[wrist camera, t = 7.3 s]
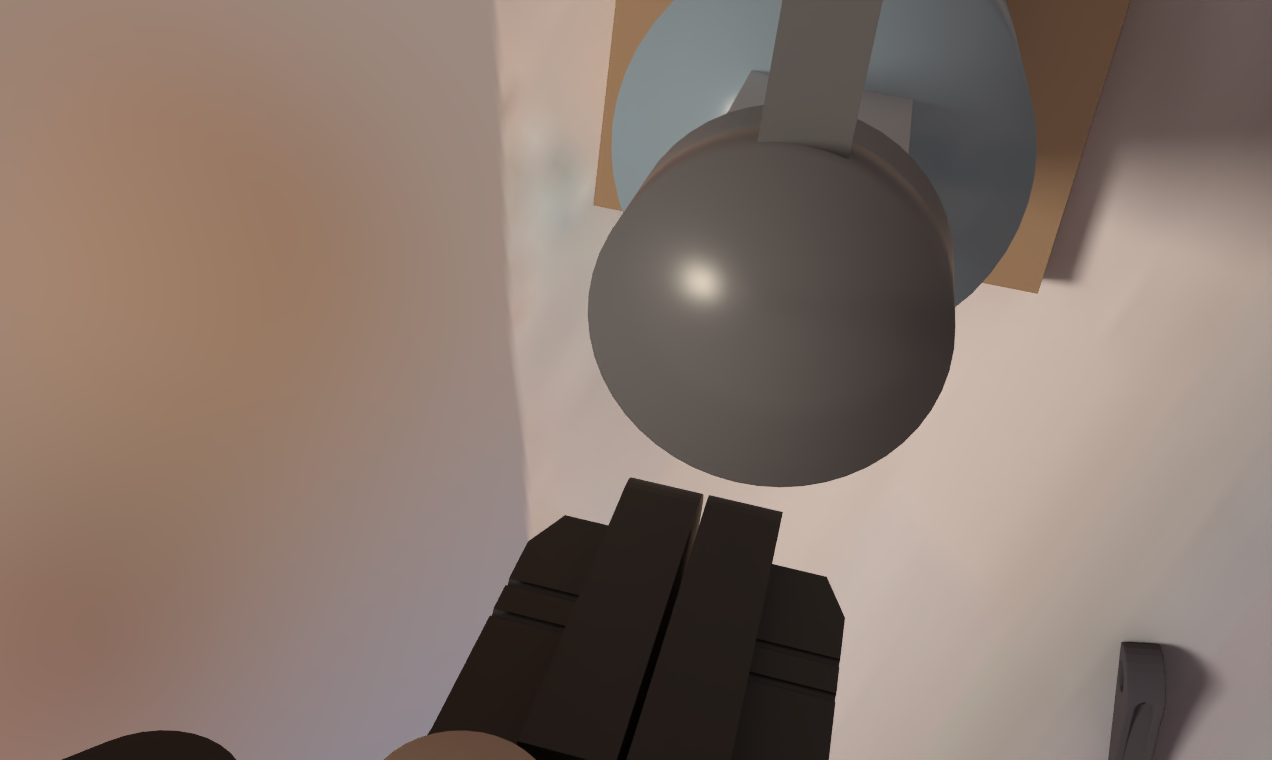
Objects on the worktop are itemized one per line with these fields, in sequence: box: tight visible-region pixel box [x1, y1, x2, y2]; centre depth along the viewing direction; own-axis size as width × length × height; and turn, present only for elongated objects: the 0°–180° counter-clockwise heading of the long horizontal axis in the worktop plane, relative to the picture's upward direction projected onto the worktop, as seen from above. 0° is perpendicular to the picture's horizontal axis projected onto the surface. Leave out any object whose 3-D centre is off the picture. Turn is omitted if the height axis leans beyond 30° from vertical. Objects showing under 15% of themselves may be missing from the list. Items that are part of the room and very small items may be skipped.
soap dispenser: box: [594, 0, 1131, 307], centre depth 27 cm, size 14×14×19 cm
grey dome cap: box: [588, 0, 955, 487], centre depth 19 cm, size 5×8×7 cm, turn 173°
